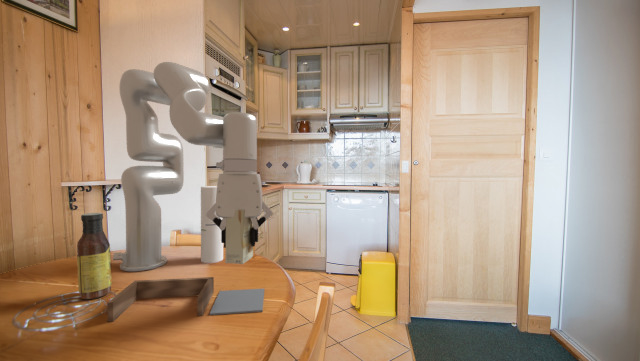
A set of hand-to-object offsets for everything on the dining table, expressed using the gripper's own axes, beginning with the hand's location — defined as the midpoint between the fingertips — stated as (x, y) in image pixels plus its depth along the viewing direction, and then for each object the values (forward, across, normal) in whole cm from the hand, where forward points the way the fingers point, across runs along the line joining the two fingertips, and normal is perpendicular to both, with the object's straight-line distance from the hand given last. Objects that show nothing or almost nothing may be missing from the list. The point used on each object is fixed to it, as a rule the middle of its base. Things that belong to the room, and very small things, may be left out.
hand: (240, 244), depth 64 cm
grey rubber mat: (+13, 0, 0) cm, 13 cm away
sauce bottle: (+14, -35, +8) cm, 38 cm away
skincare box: (+4, 0, 0) cm, 4 cm away
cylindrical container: (+14, -13, +32) cm, 37 cm away
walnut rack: (+13, -16, 0) cm, 21 cm away
